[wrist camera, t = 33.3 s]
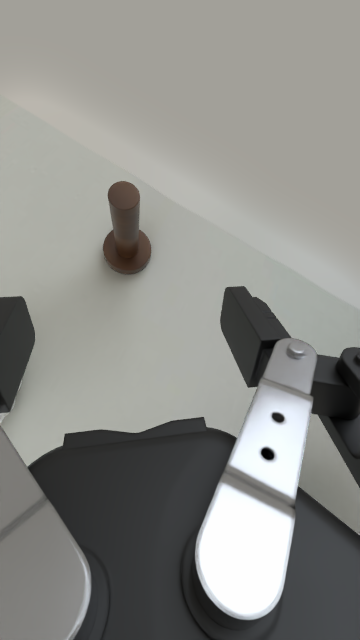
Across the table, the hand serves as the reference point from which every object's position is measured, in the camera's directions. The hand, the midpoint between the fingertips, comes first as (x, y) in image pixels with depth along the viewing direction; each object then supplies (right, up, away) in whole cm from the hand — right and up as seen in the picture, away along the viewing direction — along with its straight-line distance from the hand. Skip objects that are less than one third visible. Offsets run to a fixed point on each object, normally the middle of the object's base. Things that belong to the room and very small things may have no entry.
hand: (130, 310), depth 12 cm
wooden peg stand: (-3, +7, +19) cm, 20 cm away
